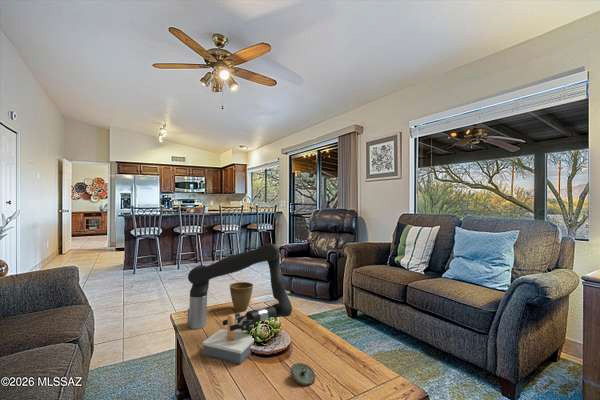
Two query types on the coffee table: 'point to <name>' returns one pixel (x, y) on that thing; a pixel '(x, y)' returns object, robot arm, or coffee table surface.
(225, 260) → the robot arm
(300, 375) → the lid
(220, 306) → the coffee table surface
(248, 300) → the plant pot
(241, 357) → the parts tub
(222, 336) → the tub lid
